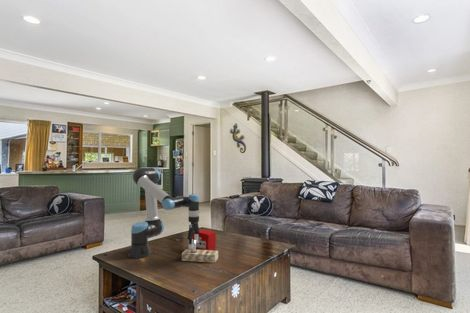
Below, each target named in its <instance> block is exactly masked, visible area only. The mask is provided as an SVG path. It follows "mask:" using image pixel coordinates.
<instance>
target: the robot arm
mask: <svg viewBox="0 0 470 313" xmlns="http://www.w3.org/2000/svg"><path fill="white" fill-rule="evenodd" d="M160 179H161V174H160V171H159V170H158V169H157V168H155V167H140V168H137V169H135V170H134V171H133V173H132V181H133V182H134V184H136V185H137V186H138V187H140V188H142V189H144V192H145V194H144V196H145V197H144V198H145V209H146V212H145V213H146V218H145V220H144V221H138V222H135V223H133V224H132V225H131V230H130V233H131V234H130V236H131V237H130V238H131V243H130V244H131V245H130V248H129V251H128V258H130V257H131V258H130V259H142V258H146V257H149V256H150V255H151V249H150V246H149V244H148V243H149V241H148V240H149V238H154V237H158V236H160V235H161V234H162V233H163V232H164V229H165V225H164V224H165V223H164V222H163V221H162V220H161V217H159V212H158V211H159V210H158V201H159V202H160V203H161V207H162V208H163V209H164V210H165V211H171V210H174V209H179V208H188V223H190V224H189V225H188V234H187V238H186V239H187V240H188V249H193V239H192V238H193V233H194V232H195V234H194V240H196V243H198V234H199V230H200V228H199V222H200V195H199V194H197V193H196V194H193V193H191V194H189V195H188V196H183V195H178V196H175V197H172V196H171V195H170V194H168V193H167V192H166V191H164V190H163V189H162V188H161V187H160V186H158V185H159V184H158V182H159V181H160Z"/></svg>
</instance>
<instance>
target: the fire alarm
mask: <svg viewBox="0 0 470 313" xmlns="http://www.w3.org/2000/svg"><path fill="white" fill-rule="evenodd" d="M194 234H195V232H194V233H193V238H192V239H193V240H194ZM216 235H217V234H216V232H215V231H213V230H209V229H199V234H198V243H196V250H215V251H216V240H217V237H216Z"/></svg>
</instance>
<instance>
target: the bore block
mask: <svg viewBox="0 0 470 313" xmlns="http://www.w3.org/2000/svg"><path fill="white" fill-rule="evenodd" d="M218 259H219V250H216V249H215V250H196V253H191V249H189V248H186V249H185V250H184V251H183V252H182V253H181V261H184V262H199V263H201V262H202V263H213V264H214V263H216V262H217V260H218Z"/></svg>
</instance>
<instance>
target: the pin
mask: <svg viewBox="0 0 470 313" xmlns="http://www.w3.org/2000/svg"><path fill="white" fill-rule="evenodd" d="M191 253H196V240H193V249H191Z"/></svg>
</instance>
